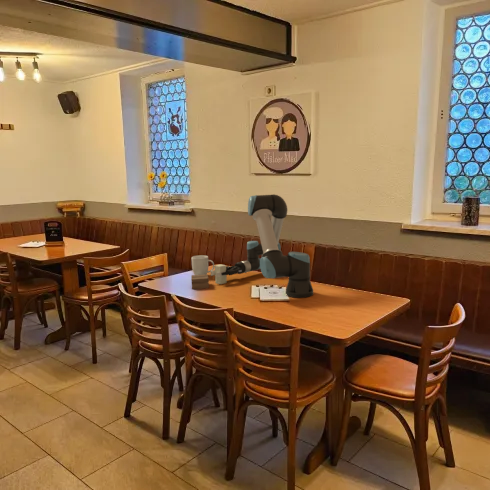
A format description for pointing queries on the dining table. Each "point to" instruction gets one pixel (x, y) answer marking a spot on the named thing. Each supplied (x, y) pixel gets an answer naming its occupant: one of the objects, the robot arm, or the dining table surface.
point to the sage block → (222, 278)
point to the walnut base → (200, 281)
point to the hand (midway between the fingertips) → (213, 274)
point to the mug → (201, 265)
